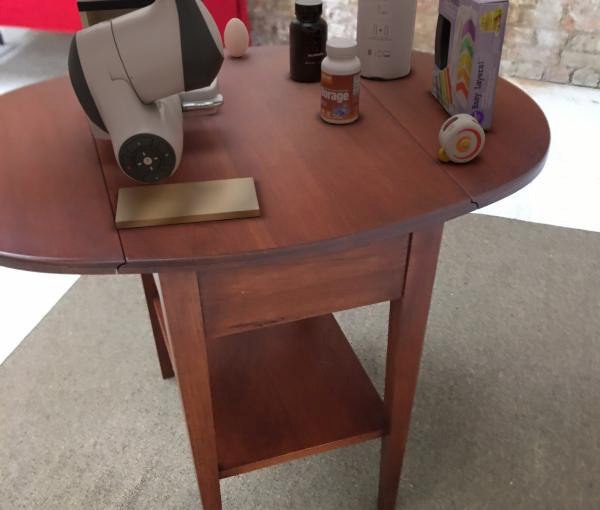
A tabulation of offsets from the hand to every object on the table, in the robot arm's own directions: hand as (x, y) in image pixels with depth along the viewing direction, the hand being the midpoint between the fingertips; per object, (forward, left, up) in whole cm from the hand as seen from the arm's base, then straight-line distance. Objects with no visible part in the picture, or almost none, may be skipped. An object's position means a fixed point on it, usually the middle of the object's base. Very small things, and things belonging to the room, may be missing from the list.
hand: (152, 77), depth 98 cm
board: (+4, -29, -7) cm, 30 cm away
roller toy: (+43, -22, -7) cm, 49 cm away
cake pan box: (+48, -5, -7) cm, 49 cm away
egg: (+15, +30, -7) cm, 34 cm away
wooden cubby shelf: (0, +8, -7) cm, 10 cm away
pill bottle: (+29, -4, -7) cm, 30 cm away
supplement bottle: (+27, +16, -7) cm, 32 cm away
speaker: (+41, +16, -7) cm, 44 cm away
